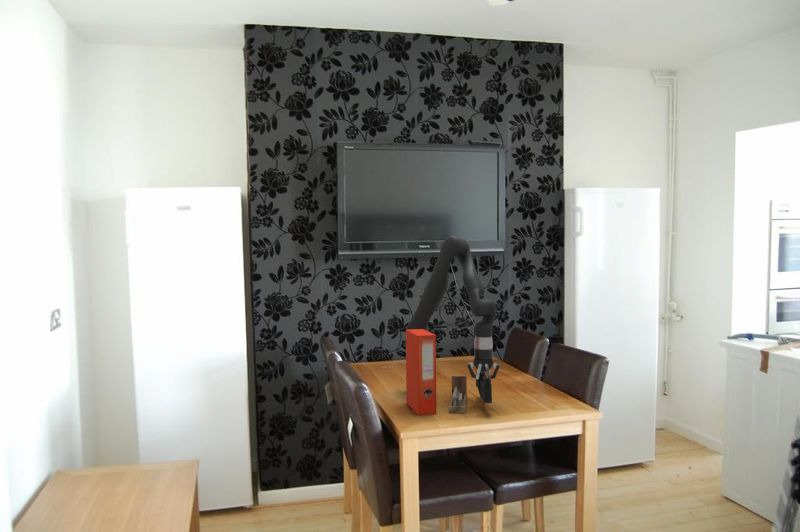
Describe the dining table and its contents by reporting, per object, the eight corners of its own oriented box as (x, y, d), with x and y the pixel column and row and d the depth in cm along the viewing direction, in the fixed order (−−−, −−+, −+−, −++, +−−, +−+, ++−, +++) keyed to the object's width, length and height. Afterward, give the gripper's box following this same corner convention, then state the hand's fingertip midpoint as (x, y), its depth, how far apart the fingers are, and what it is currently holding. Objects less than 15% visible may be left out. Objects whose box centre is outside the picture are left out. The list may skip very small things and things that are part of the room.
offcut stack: (453, 410, 234) (452, 396, 233) (455, 401, 247) (454, 387, 247) (461, 410, 233) (461, 396, 233) (462, 401, 247) (462, 387, 247)
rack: (448, 413, 230) (448, 388, 229) (452, 398, 252) (451, 375, 251) (465, 413, 229) (464, 388, 228) (466, 398, 251) (466, 375, 250)
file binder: (424, 402, 246) (423, 328, 245) (437, 413, 229) (435, 334, 228) (406, 404, 244) (405, 329, 243) (417, 415, 227) (416, 336, 226)
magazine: (493, 385, 220) (484, 348, 248) (484, 385, 220) (476, 348, 248) (491, 422, 226) (483, 382, 254) (483, 422, 226) (475, 382, 254)
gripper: (500, 345, 240) (500, 386, 241) (466, 345, 242) (466, 385, 243) (500, 349, 233) (500, 390, 233) (465, 348, 235) (465, 389, 236)
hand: (483, 387), depth 238 cm, fingers closed on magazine, 3 cm apart
